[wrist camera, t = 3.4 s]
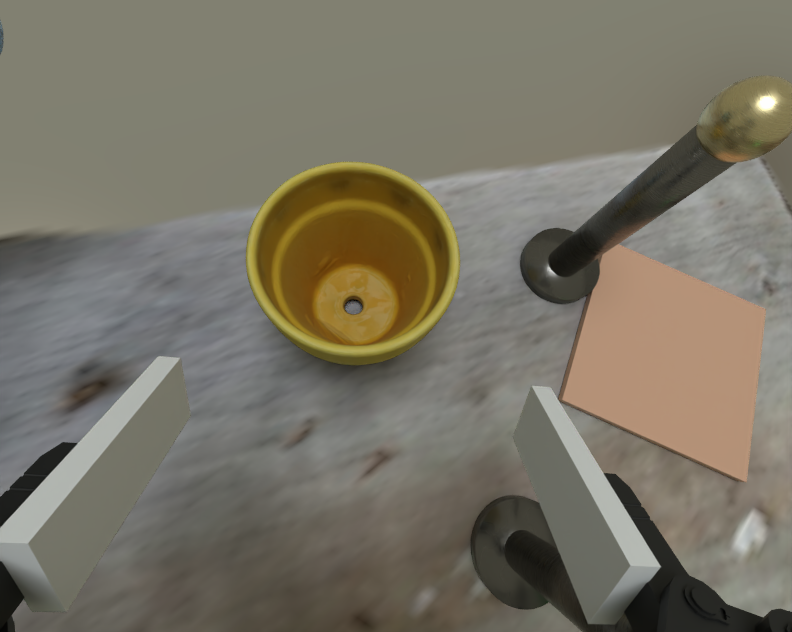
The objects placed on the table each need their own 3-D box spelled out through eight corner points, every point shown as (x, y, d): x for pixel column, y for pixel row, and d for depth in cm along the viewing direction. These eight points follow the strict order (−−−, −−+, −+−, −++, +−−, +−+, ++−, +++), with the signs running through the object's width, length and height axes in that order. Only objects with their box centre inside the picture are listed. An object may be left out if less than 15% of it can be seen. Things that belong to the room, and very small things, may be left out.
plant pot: (304, 402, 25) (275, 388, 16) (266, 265, 28) (221, 182, 18) (445, 354, 27) (494, 317, 18) (398, 230, 30) (419, 140, 20)
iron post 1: (457, 577, 23) (690, 913, 7) (488, 480, 25) (730, 576, 9) (546, 618, 23) (984, 1050, 7) (571, 517, 25) (964, 681, 9)
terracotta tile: (557, 400, 27) (562, 399, 27) (602, 242, 31) (607, 239, 31) (738, 481, 27) (746, 482, 26) (758, 311, 31) (766, 309, 31)
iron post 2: (510, 284, 29) (701, 112, 13) (532, 223, 31) (723, 6, 15) (581, 315, 29) (860, 181, 13) (599, 252, 31) (863, 66, 15)
